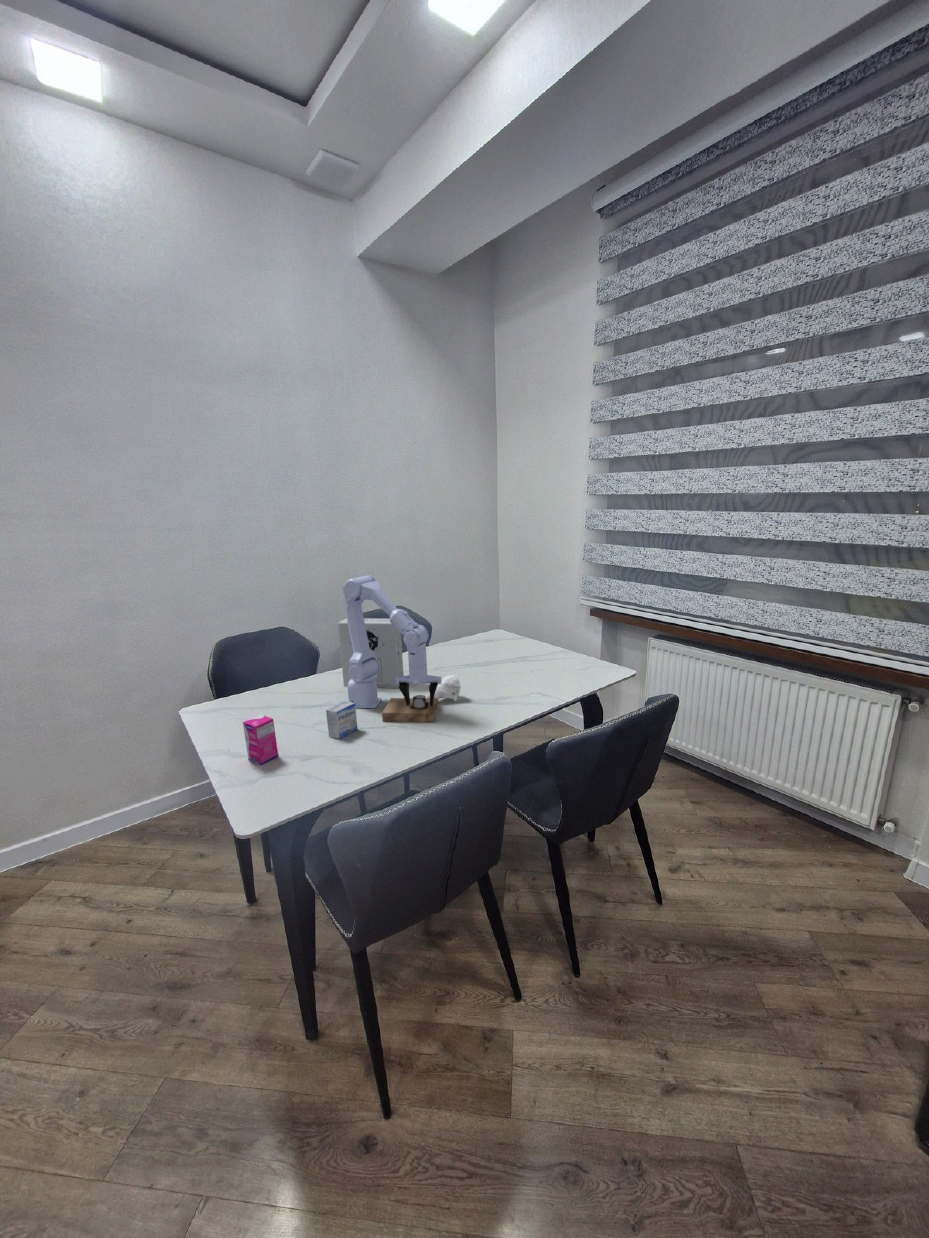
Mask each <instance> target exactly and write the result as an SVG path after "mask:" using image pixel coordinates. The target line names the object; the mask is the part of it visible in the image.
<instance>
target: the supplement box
mask: <svg viewBox="0 0 929 1238" xmlns="http://www.w3.org/2000/svg"><path fill="white" fill-rule="evenodd" d="M242 727H243V733H244V738H245V739H244V740H245V746H246V751H247V753H246V754H247V759H248V760H249V761H252V762H253V763H256V764H257V765H260V766H262V765H264V764H266V763H268V762H270V761H272V760H274V759H276V758H279V751H278V750H279V749H278V742H277V737H276V729H275V723H274V718H272V717H271V716H270V717H269V716H266V715H264V714H261V713H260V714H257V715H256V716H253V717H251V718H249V719H246V720H245V721H242Z"/></svg>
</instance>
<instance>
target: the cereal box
mask: <svg viewBox="0 0 929 1238" xmlns="http://www.w3.org/2000/svg"><path fill="white" fill-rule="evenodd" d="M364 622H365V627H366V633H367V638H368V643H369V648H370V650H371V651H372V652H374V653H375V654H376V658H377V660H378V662H379V664H380V670H379V672H378V673H377V677H376V682H377V689H378V688H379V689H383V688H384V689H399V684H396V677H397V676H405V675H404V661H403V647H402V646H403V645H402V643H403V642H402V634H401V633H400V632H399V631H398V630H397V629H396V628H395V627H394V626H393V625H392V624H391V623H390V618H373V617H372V618H371V617H370V618H367V617H366V618H364ZM337 626H338V636H339V647H340V658H341V659H340V660H341V668H342V679H343V680H342V683H343V687H348V683H349V681H350V679H352V678H351V677H350V674H349V668H350V664H349V661H350V659H351V657H352V655H353V648H352V643H351V638H350V633H349V628H348V623H347V618H344V619H342V620H340V621H338V622H337Z"/></svg>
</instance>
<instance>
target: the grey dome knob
mask: <svg viewBox="0 0 929 1238" xmlns="http://www.w3.org/2000/svg"><path fill="white" fill-rule="evenodd" d="M412 698H413V709H426V698H427V695H423V694H417V695H414V696H413V697H412Z"/></svg>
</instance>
